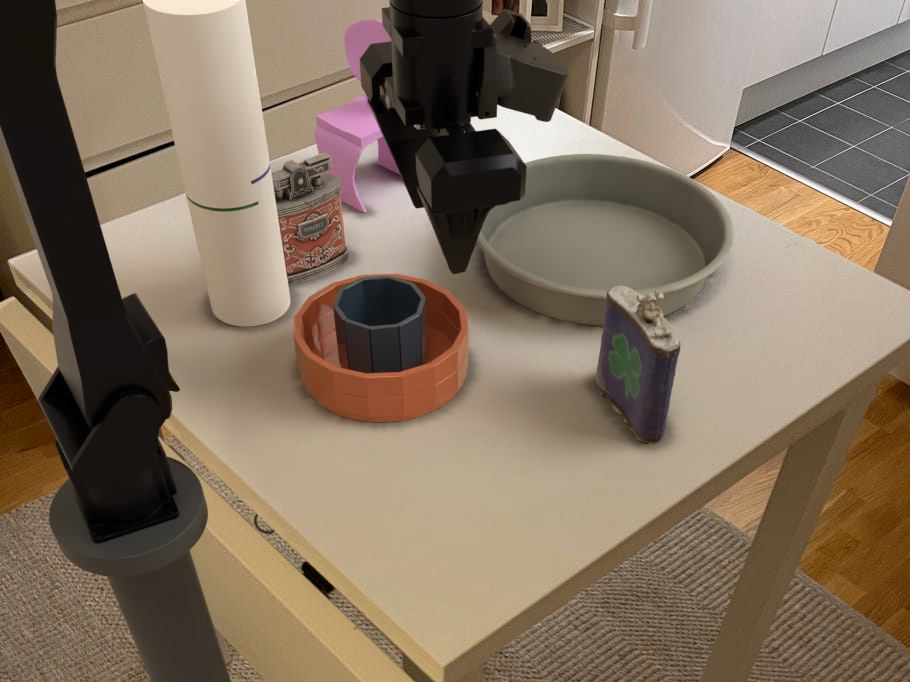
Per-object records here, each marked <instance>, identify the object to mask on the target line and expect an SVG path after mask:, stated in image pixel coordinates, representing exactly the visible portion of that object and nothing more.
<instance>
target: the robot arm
mask: <svg viewBox="0 0 910 682" xmlns="http://www.w3.org/2000/svg"><path fill="white" fill-rule="evenodd" d="M483 3H484V0H389V2H388V4H389V6H386V7H381V20H382V25H383V27H384V29H385V30H386V32H387V33H388V35H389V36H390V38H391V41H390V42H382V43H373V44H370V46H369V47H368V48H367V50H366V51H365V52H364V54H363V55H362V56H361V58H360V59H359V60H360V75H361V82H360V86H361V88H362V90H363V92H364V94H365V96H366V95H367V97H368V99H367V101H368V104H369V107H370V109H371V111H372V113H373V115H374V117H375V120H376V122H377V124H378V126H379V129H380V131H381V133H382V135H383V137H384V140H385V142H386V144H387V146H388V149H389V151H390V153H391V155H392V158H393V160H394V162H395V164H396V167H397V169H398V171H399V173H400V175H399V176H400V177H401V180H402V183H403V185H404V187H405V190H406V191H407V194H408V196H409V198H410V201H411V203H412V205H413V207H414V208H415V209H418V210H419V209H424V210H425V213H426V215H427V218H428V221H429V223H430V225H431V227H432V231H433V233H434V235H435V238H436V240H437V243H438V246H439V249H440V251H441V253H442V255H443V258H444V260H445V262H446V265H447V267H448V269H449V272H450V274H452V275H458V274H464V273H465V272H467V270H468V267H469V264H470V261H471V258H472V256H473V253H474V250H475V248H476V245H477V243H476V242H477V239H478V236H479V234H480V231H481V228H482V226H483V224H484V221H485V219H486V217H487V215H488V213H489V212H490V210H492V209H493V208H494V207H495V206H499V205H505V204H508V203H510V202H513V201H519V200H521V199H522V198H523V196H524V195H525V188H526V171H527V166H526V164H525V163H526V162H525V161H524V160H523V159H522V158H521V156H520V155H519V153H518V152H517V150H516V149H515V148H514V146H513V145H512V143H511V142H510V141H509V139H507V138H506V137H505V136H504V135H503V134H502V133H501V132H500V131H499V130H498V129H497V128H489V129H482V130H476V129H475V128H474V126H473V124H472V123H471V122H472V118H478V120H487V119H489V120H490V119H495V118H497V117H498V106H499V107H501V108H504V109H508V110H511V111H515V112H518V113H521V114H526V115H529V116H534V118H535V119H536V121H538V122H539V121H540V122H543V123H549V122H551V121H552V119H553V116H554V113H555V110H556V108H557V106H558V103H559V101H560V97H561V95H562V93H563V90H564V88H565V85H566V82H567V80H568V77H569V75H570V72H569V70H568V69H567V68H566V67H565V65H564V64H563V63H562V62H561V61H560V60H559V58H558V57H557V56H556V55H555V54H554V53H553V52H552V51H551V50H550V49H549V48H546V46H543V45H542V43H541V42H540V41H539V40H535V39H534V40H533V41H532V26H531V24H530V22H529V21H528V20H527V19H526V17H525V16H523V14H521V13H519V12H516V11H513V10H510V9H507V8H503V9H502V11H500V12H499V14H498V15H497V16H496V17H495V19H493V21H492V22H491V23H490V24H489V22H488V21H487V20H486V19H485V17H484V16H483V11H484V4H483ZM57 35H58V13H57V4H56V0H0V149H1V152H2V155H3V158H4V161H5V164H6V166H7V169H8V172H9V175H10V178H11V181H12V184H13V187H14V189H15V192H16V195H17V198H18V200H19V203H20V206H21V209H22V213H23V215H24V218H25V220H26V224H27V226H28V229H29V231H30V235H31V237H32V240H33V244H34V246H35V248H36V252H37V254H38V257H39V260H40V263H41V265H42V268H43V269H42V270H43V271H44V274H45V277H46V280H47V283H48V285H49V288H50V290H51V296H52V319H51V320H52V322H51V327H52V334H53V341H54V347H55V354H56V355H55V356H56V361H57V366H56V368H55V369H54V372H53V373H52V375H51V376H50V378H49V380H48V382H47V383H46V385H45V386H44V388H43V390H42V391H41V393H40V394H39V395H38V398H37V402H38V404H39V406H40V408H41V410H42V412H43V414H44V416H45V418H46V420H47V422H48V424H49V427H50V428H51V430H52V432H53V435H54V436H55V438H56V439H55V441H54V445H55V447H56V450H57V453H58V455H59V458H60V460H61V463H62V466H63V468H64V471H65V473H66V476H67V478H68V479H69V480H70V482H71V485H72V487H73V492H74V494H75V497H76V499H77V502H78V505H79V507H80V510H81V512H82V515H83V517H84V520H85V523H86V525H87V528H88V530H89V533H90V536H91V538H92V540H93V542H94V543H97V544H100V543H103V542H106V541H109V540H112V539H116V538H119V537H122V536H125V535H128V534H131V533H134V532H137V531H140V530H143V529H146V528H149V527H152V526H155V525H158V524H161V523H164V522H167V521H170V520H173V519H176V518H178V517H179V515H180V513H179V510H178V507H177V505H176V503H175V501H174V499H173V497H172V496H173V495H176V493H177V488H176V485H175V482H174V479H173V475H172V472H171V469H170V466H169V463H168V459H167V457H168V456H167V454H166V451H165V449H164V447H163V445H162V443H161V440H160V439H159V435H160V429H161V428H162V426H163V425H164V424H165V422H166V421H167V420H169V419H170V418H171V416H172V413H173V408H174V407H173V397H172V394H171V392H172V393H179V392H180V391H181V388H180V386H179V384H178V383H177V381H176V380H175V378H174V377H173V375H172V373H171V372H170V367H169V351H168V345H167V342H166V338H165V336H164V335H163V333H162V332H161V330H160V328H159V327H158V325H157V324H156V322H155V321H154V319H153V318H152V316H151V314H150V313H149V312H148V310H147V309H146V307H145V306H144V304H143V302H142V301H141V299H140V298H139V296H138V294H137V293H136V292H133V293H131V294H129V295H127V296H125V297H122V295H121V291H120V287H119V285H118V281H117V277H116V275H115V271H114V266H113V264H112V260H111V257H110V254H109V250H108V247H107V244H106V240H105V237H104V233H103V229H102V227H101V223H100V222H101V221H100V220H99V216H98V212H97V209H96V206H95V203H94V199H93V195H92V191H91V189H90V185H89V182H88V178H87V174H86V171H85V168H84V165H83V161H82V157H81V154H80V150H79V147H78V144H77V141H76V137H75V135H74V134H75V133H74V130H73V127H72V123H71V120H70V117H69V112H68V109H67V107H66V102H65V100H64V96H63V93H62V89H61V85H60V83H59V79H58V73H57V63H56V62H57V37H58V36H57ZM172 512H174V513H172ZM98 536H100V537H98Z"/></svg>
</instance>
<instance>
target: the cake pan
mask: <svg viewBox="0 0 910 682" xmlns="http://www.w3.org/2000/svg"><path fill="white" fill-rule="evenodd" d="M524 163H525V164H526V166H527V171H526V188H525V195H524V196H523V198H522V199H521V200H519V201H513V202H510V203H508V204H505V205H499V206H495V207H494V208H493V209H492V210H490V212H489V213H488V215H487V217H486V219H485V221H484V224H483V226H482V228H481V231H480V234H479V236H478V239H477V242H476V245H477V246H478V248H479V249H480V250H481V252H483V256H484V260H485V265H486V269H487V271H488V273H489V275H490V277H491V279H492V280H493V282H494V283H495V285H497V286H498V288H499V289H500V290H501V291H502V293H504V294H506V295H507V296H508V297H509V298H510V299H512V300H513V301H515V302H517V303H518V304H520V305H521V306H523V307H525V308H526V309H529V310H531V311H532V312H536V313H537V314H541V315H544V316H546V317H549V318H553V319H555V320H560V321H564V322H569V323H573V324H579V325H588V326H603V325H604V315H605V309H606V294H607V292H608V291H609V290H610V289H611V288H613V287H615V286H626V287H629V288H631V289H633V290H634V291H635V292H637V293H638V294H641V295H645V294H648V293H652V294H654V295H655V296H656V298H657V303H656V304H657V305H658V306H659V308H660V309H661V310H662V313H663V316H664V317H666V316H667V315H670V314H672V313H674V312H676V311H678V310H680V309H681V308H683V307H684V306H686V305H687V304H688V303H689V302H691V301H692V300H693V299H694V298H695V297H696V296H697V295H698V293H699V292H700V291H701V289H702V287H703V286H704V283H705V281H706V280H707V278H708V277H709V276H711V274H713V273H714V272H715V271H716V270H718V268H719V267H721V265H722V264H723V263H724V262H725V260H726V259H727V258H728V256H729V255H730V253H731V250H732V247H733V244H734V240H735V239H734V237H735V228H734V224H733V220H732V218H731V215H730V213H729V211H728V209H727V208H726V207H725V206H724V204H723V203H722V202H721V200H720V199H719V198H718V197H717V196H715V194H714V193H712V191H710V190H709V189H708V188H707V187H705V186H704V185H702V184H701V183H699V182H698V181H696V180H694V179H693V178H691V177H689V176H687V175H686V174H683V173H681V172H679V171H677V170H675V169H671V168H668V167H666V166H664V165H660V164H658V163H654V162H649V161H646V160H643V159H638V158H633V157H627V156H621V155H613V154H602V153H601V154H599V153H575V154H574V153H573V154H562V155H555V156H549V157H542V158H538V159H535V160H531V161H527V162H524ZM655 290H656V291H658V292H660V293H663V296H664V297H663V299H660V298H658V295H657V294H658V293H657V294H655V293H654V291H655Z"/></svg>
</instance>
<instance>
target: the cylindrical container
mask: <svg viewBox="0 0 910 682" xmlns="http://www.w3.org/2000/svg"><path fill="white" fill-rule="evenodd" d="M142 4H143V8H144V14H145V17H146V18H145V19H146V21H147V26H148V31H149V35H150V40H151V44H152V45H151V46H152V49H153V53H154V59H155V62H156V67H157V70H158V71H157V72H158V75H159V76H158V77H159V80H160V86H161V90H162V94H163V98H164V102H165V107H166V111H167V116H168V121H169V125H170V129H171V133H172V139H173V143H174V148H175V152H176V157H177V162H178V165H179V170H180V175H181V179H182V182H183V187H184V188H183V189H184V192H185V196H186V200H187V206H188V210H189V214H190V220H191V223H192V227H193V233H194V236H195V242H196V246H197V251H198V254H199V259H200V263H201V268H202V272H203V277H204V281H205V286H206V290H207V294H208V299H209V304H210V307H211V311H212V313H213V315H214V316H215V317H216V318H217V319H218V320H220V321H221V322H223V323H225V324H228V325H230V326H235V327H257V326H264V325H266V324H270V323H272V322H274V321H276V320H278V319H280V318H281V317H283V316H284V315H285V314H286V313H287V311H288V310H289V308H290V307H291V293H290V287H289V286H290V285H289V286H288V280H287V273H286V267H285V260H284V253H283V247H282V240H281V234H280V227H279V220H278V214H277V207H276V200H275V194H274V187H273V180H272V173H273V172H272V168H271V163H270V161H271V160H270V155H269V148H268V147H269V146H268V141H267V135H266V127H265V122H264V114H263V109H262V108H263V107H262V101H261V95H260V89H259V83H258V76H257V69H256V63H255V55H254V48H253V42H252V41H253V40H252V35H251V29H250V22H249V16H248V8H247V2H246V0H142Z"/></svg>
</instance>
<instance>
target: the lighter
mask: <svg viewBox="0 0 910 682" xmlns="http://www.w3.org/2000/svg"><path fill="white" fill-rule="evenodd" d="M331 170H332V162H331V157H330V156H329V155H328V154H326V153H322V154H319V153H318V154H315V155H313V156H311V157H308V158H306V159H303V161H302V162H298V163H297V162H296V161H294V160H292V159H290V160H286V161H285V163H284V164H283V166H282V168H281V169H279V170H276V171H273V172H271V173H272V180H273V187H274V194H275V200H276V207H277V214H278V220H279V227H280V234H281V240H282V247H283V253H284V260H285V267H286V273H287V280H288V286H294V285H297V284H300V283H303V282H308V281H311V280H312V279H315V278H319V277H321V276H323V275H326V274H327V273H330V272H331V271H334V270H335V269H337V268H339V267H340V266H342V265H344V264H345V263H347V262H348V261H349V257H350V256H349V248H348V246H347V245H346V235H345V226H344V216H343V206H342V201H341V194H340V193H341V192H342V183H341V179H340V178H339V177H337V176H334V175H329V174H325V175H322V174H324V173H327V172H329V171H331Z"/></svg>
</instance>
